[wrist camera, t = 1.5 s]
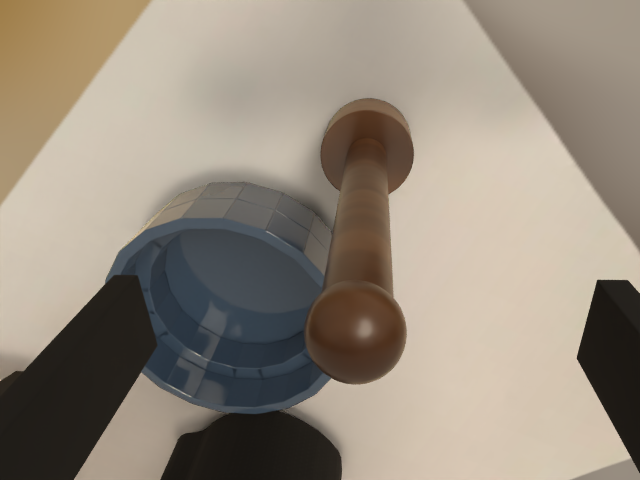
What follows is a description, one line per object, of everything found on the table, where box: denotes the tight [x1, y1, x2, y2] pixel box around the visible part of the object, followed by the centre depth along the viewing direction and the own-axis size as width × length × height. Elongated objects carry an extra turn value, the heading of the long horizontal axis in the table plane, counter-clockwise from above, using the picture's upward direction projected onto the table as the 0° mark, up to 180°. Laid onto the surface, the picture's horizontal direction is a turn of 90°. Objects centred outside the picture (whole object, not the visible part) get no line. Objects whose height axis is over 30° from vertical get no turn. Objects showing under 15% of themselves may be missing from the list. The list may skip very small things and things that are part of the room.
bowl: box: [105, 182, 332, 414], centre depth 32 cm, size 15×15×6 cm
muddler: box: [304, 98, 414, 384], centre depth 20 cm, size 5×5×19 cm
